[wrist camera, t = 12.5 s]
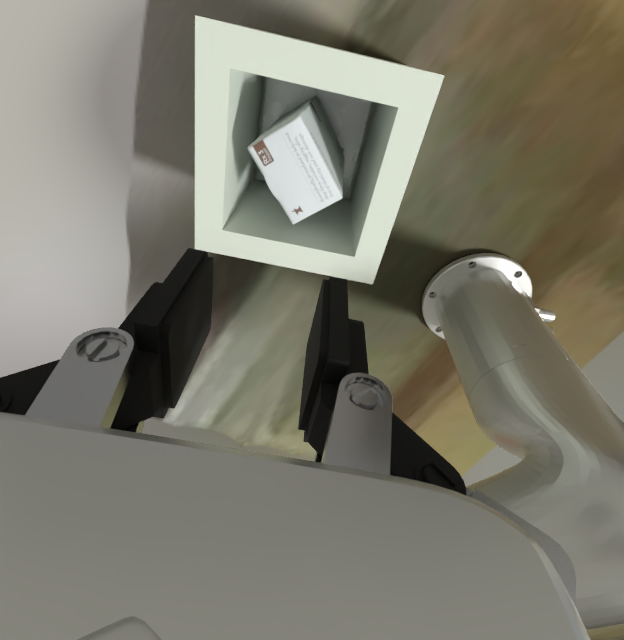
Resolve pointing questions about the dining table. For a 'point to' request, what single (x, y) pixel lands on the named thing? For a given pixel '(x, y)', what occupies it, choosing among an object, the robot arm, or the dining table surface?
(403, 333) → the dining table surface
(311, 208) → the skincare box
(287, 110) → the thin grey square tile
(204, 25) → the holder
